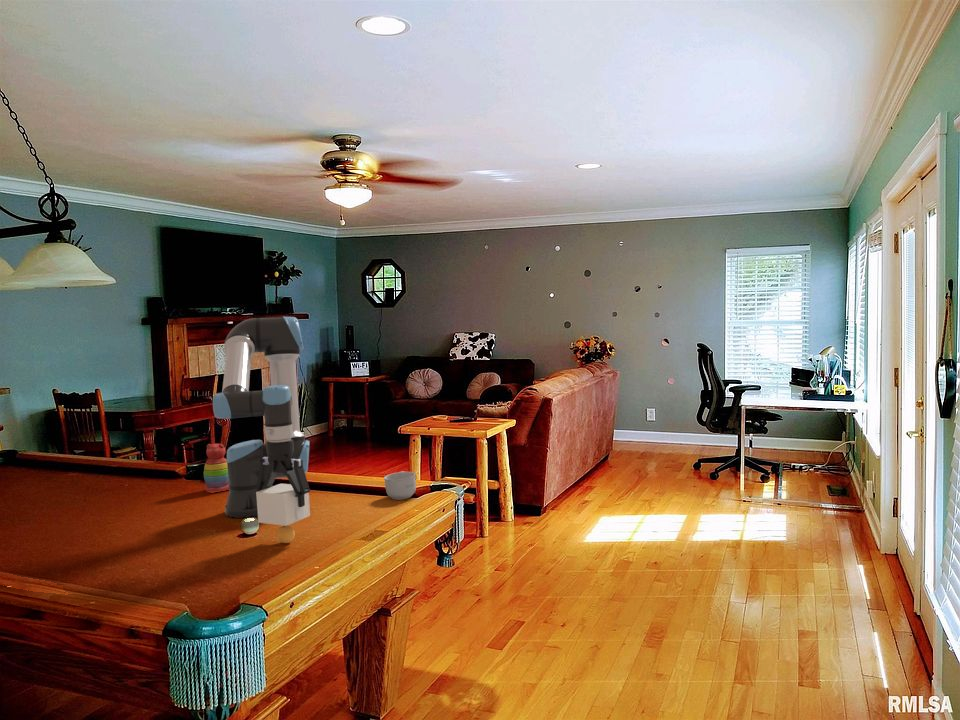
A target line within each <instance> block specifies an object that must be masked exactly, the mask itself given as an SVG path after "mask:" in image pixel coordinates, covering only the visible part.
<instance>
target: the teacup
mask: <svg viewBox="0 0 960 720" xmlns="http://www.w3.org/2000/svg"><path fill="white" fill-rule="evenodd" d="M383 480H384V486H385V490H386V491H385V492H386V494H387V496H388V497H390V498H391V499H393V500H397V501H398V500H399V501H402V500H405V499H406V500H407V499H410V498H411V497H412V496H413V495H414V494H415V493H416V490H417V482H416V481H417V480H416V473H415V472H413V471H403V470H402V471H399V472H392V473H390V474H387V475H385V476H384V477H383Z"/></svg>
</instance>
